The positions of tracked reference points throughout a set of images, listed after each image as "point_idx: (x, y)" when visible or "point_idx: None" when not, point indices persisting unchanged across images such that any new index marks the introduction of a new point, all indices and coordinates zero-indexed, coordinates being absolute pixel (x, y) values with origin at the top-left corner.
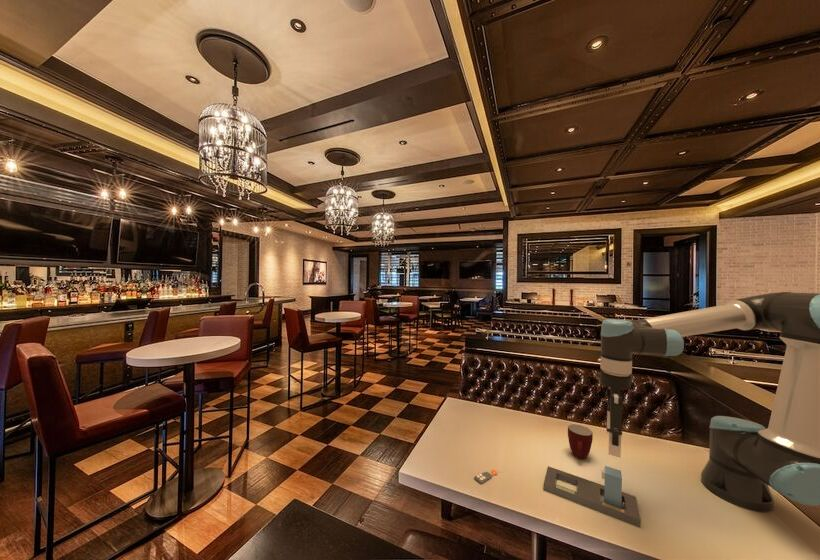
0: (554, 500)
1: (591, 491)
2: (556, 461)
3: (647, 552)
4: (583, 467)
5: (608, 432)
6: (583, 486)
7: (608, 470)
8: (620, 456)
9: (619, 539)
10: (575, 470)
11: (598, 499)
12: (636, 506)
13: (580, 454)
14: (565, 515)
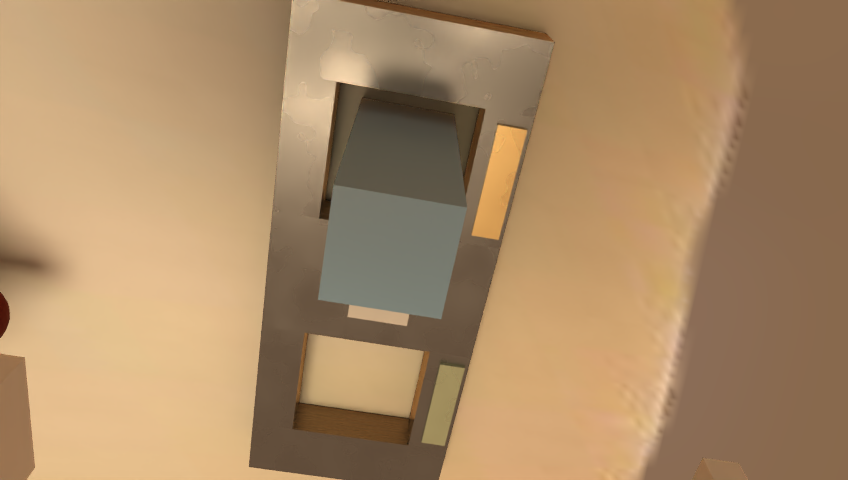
0: (496, 424)
1: None
2: (108, 391)
3: (734, 56)
4: (64, 247)
5: (29, 453)
6: None
7: (387, 287)
8: (743, 477)
9: (678, 177)
10: (138, 299)
11: None
12: (417, 26)
13: (7, 309)
14: (588, 389)
